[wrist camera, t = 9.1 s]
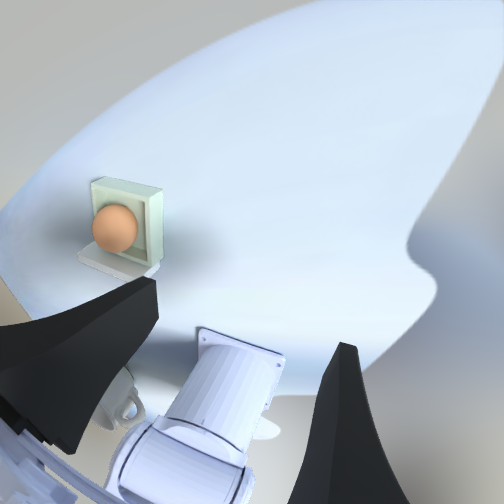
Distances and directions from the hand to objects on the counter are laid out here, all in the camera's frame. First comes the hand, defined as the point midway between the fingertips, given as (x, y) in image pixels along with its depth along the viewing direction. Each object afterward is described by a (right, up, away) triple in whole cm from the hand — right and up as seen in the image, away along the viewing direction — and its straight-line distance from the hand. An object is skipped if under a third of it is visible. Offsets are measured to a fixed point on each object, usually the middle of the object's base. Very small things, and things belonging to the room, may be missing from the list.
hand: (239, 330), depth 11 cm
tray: (-9, +6, +12) cm, 16 cm away
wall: (-10, +3, +14) cm, 18 cm away
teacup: (-17, -13, +27) cm, 35 cm away
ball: (-10, +5, +10) cm, 15 cm away
